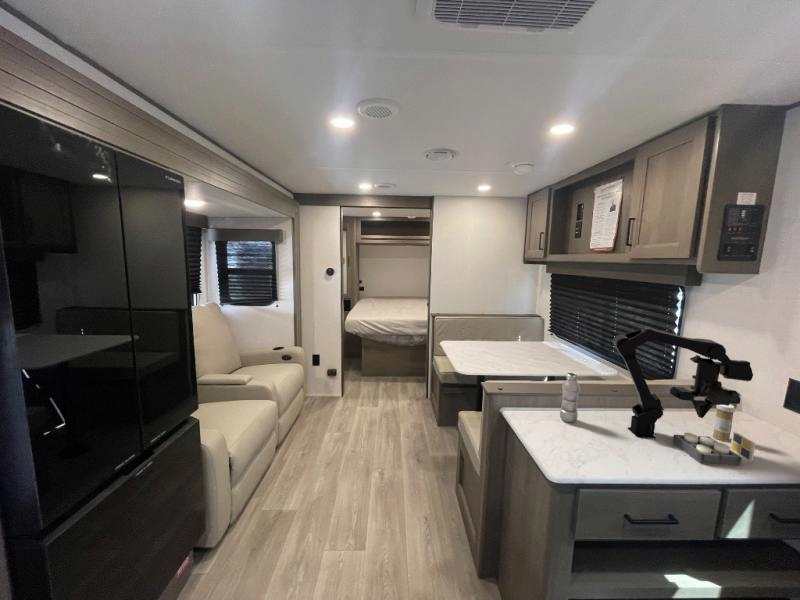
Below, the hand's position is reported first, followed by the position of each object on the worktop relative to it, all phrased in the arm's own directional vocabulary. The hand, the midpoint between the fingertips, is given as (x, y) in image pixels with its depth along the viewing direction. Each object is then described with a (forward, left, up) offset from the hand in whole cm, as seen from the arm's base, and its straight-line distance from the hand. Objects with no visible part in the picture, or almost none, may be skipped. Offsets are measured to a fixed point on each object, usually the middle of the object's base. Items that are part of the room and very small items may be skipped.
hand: (700, 417), depth 111 cm
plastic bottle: (-39, +12, -11) cm, 43 cm away
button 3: (+1, -3, -9) cm, 10 cm away
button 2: (-5, -8, -9) cm, 13 cm away
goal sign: (+10, -6, -11) cm, 15 cm away
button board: (-2, -6, -11) cm, 12 cm away
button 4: (+1, -8, -8) cm, 12 cm away
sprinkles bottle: (+13, +5, -11) cm, 17 cm away
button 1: (-5, -3, -8) cm, 10 cm away
